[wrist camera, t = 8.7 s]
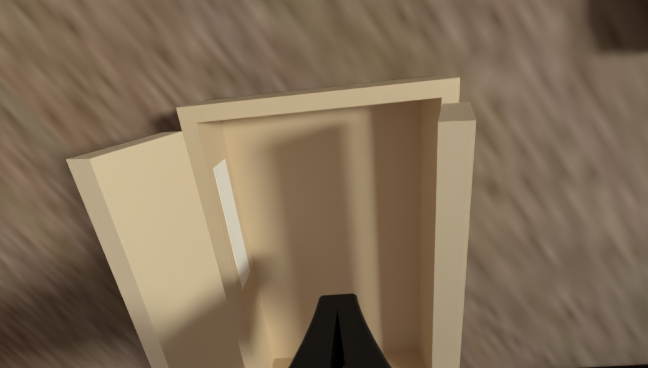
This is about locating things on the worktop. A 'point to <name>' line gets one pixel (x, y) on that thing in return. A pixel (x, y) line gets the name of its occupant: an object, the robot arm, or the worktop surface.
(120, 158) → the flap
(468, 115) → the flap
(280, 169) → the carton
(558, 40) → the worktop surface
